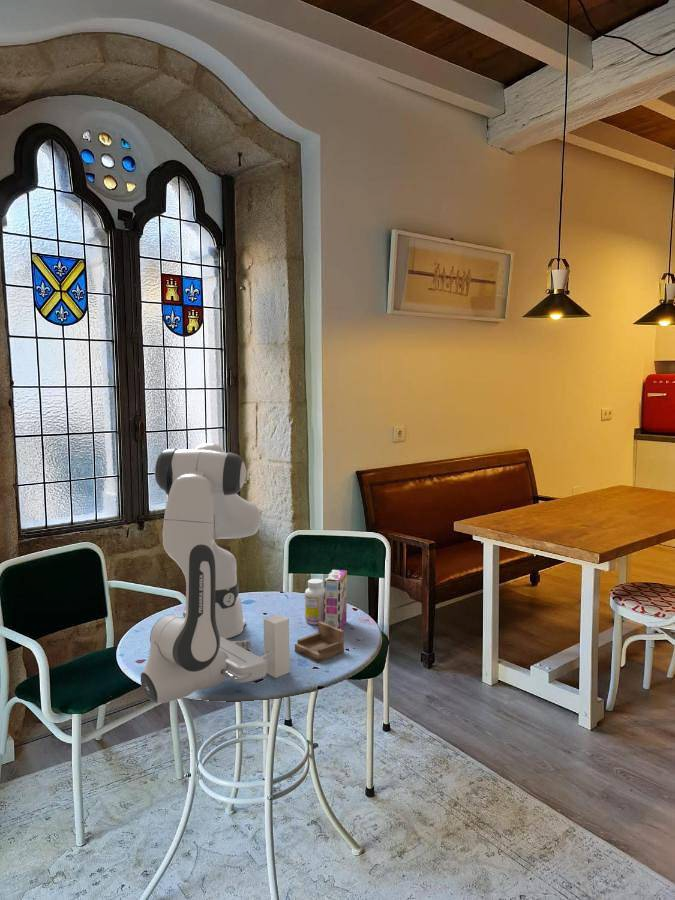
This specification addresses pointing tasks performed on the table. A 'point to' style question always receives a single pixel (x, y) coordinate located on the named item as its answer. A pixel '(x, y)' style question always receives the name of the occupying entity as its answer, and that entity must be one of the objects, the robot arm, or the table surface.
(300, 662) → the table surface
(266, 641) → the cream block
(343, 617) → the candy bar box
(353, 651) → the table surface
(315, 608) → the supplement bottle
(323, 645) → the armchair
